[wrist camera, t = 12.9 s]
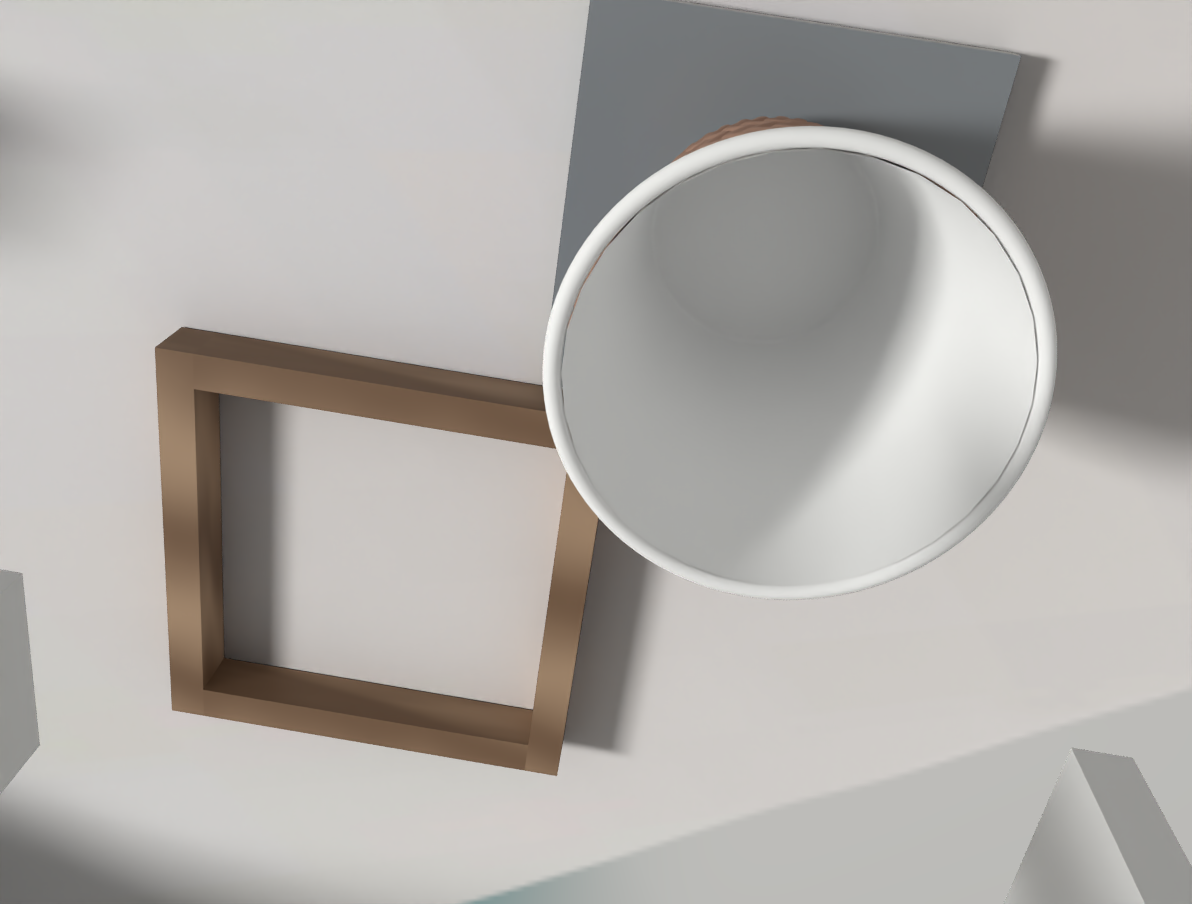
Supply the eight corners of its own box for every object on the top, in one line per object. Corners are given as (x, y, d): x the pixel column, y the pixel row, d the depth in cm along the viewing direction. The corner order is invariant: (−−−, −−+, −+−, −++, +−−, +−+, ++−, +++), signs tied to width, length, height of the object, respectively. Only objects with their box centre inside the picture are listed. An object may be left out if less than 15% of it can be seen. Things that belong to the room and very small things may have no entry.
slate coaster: (901, 430, 36) (907, 443, 35) (546, 372, 36) (542, 383, 35) (1011, 51, 31) (1021, 55, 30) (594, -13, 31) (591, -11, 30)
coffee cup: (567, 85, 31) (497, 171, 21) (935, 27, 30) (1067, 86, 19) (620, 410, 36) (585, 621, 25) (944, 374, 34) (1055, 582, 23)
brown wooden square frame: (563, 740, 43) (556, 775, 41) (194, 677, 43) (172, 710, 42) (617, 398, 37) (613, 422, 35) (182, 327, 37) (154, 347, 35)
